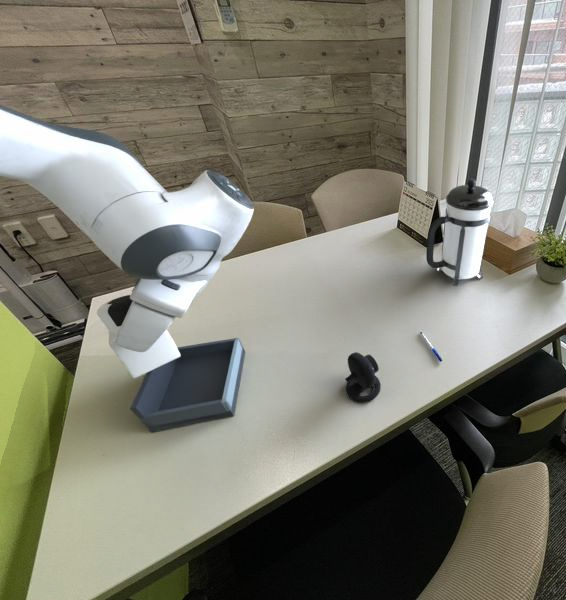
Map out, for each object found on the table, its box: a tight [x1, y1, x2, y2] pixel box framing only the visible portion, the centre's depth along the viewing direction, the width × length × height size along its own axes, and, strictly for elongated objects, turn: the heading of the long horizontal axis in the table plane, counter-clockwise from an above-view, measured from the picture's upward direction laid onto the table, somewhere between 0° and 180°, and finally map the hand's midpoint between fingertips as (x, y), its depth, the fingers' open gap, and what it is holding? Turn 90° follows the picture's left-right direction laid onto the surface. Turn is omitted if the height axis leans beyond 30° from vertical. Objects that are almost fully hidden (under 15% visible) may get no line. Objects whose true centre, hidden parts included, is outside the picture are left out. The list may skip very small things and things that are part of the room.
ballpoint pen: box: [419, 331, 443, 362], centre depth 79 cm, size 10×1×1 cm, turn 26°
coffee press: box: [425, 178, 494, 287], centre depth 94 cm, size 17×16×30 cm
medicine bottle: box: [96, 294, 181, 379], centre depth 54 cm, size 7×7×12 cm
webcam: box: [345, 351, 382, 404], centre depth 66 cm, size 8×8×10 cm
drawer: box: [129, 337, 246, 434], centre depth 67 cm, size 15×18×8 cm
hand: (139, 325), depth 54 cm, fingers closed on medicine bottle, 7 cm apart
